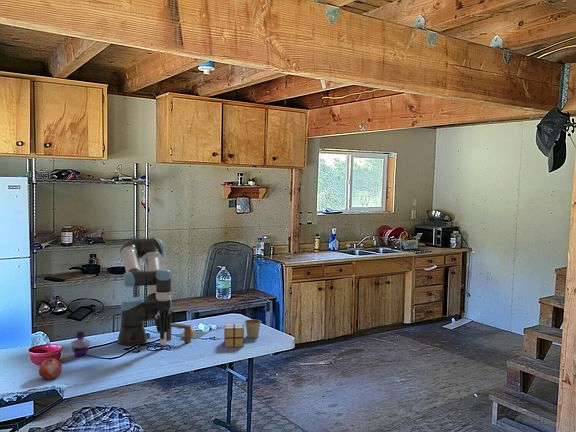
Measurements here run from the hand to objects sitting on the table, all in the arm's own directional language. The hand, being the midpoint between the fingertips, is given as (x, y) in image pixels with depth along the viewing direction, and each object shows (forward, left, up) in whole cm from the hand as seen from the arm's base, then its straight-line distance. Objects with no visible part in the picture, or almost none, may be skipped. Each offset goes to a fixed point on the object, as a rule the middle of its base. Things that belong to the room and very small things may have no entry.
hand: (163, 344), depth 262 cm
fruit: (-20, -54, -2) cm, 58 cm away
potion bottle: (-30, -26, -2) cm, 40 cm away
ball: (+1, +22, +1) cm, 22 cm away
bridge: (0, +13, -2) cm, 13 cm away
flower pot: (+33, +38, -2) cm, 50 cm away
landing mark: (0, +27, -2) cm, 27 cm away
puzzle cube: (+30, +21, -2) cm, 37 cm away
